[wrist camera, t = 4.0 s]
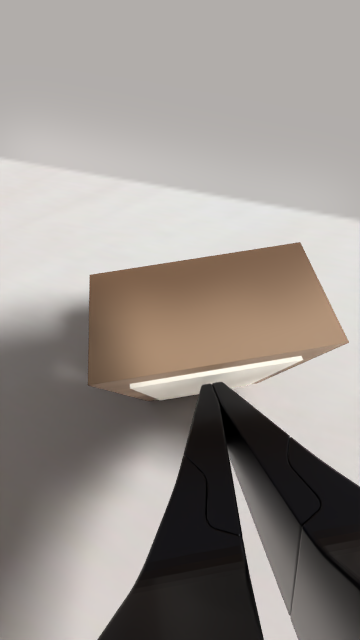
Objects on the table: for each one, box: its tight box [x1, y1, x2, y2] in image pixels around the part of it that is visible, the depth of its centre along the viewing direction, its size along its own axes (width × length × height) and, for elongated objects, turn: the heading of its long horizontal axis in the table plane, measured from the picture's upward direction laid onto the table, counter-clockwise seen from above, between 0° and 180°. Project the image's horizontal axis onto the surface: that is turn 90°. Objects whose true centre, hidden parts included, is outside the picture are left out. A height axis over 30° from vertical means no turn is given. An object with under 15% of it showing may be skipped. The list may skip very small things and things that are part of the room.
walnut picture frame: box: [88, 242, 349, 401], centre depth 12 cm, size 4×8×10 cm, turn 99°
